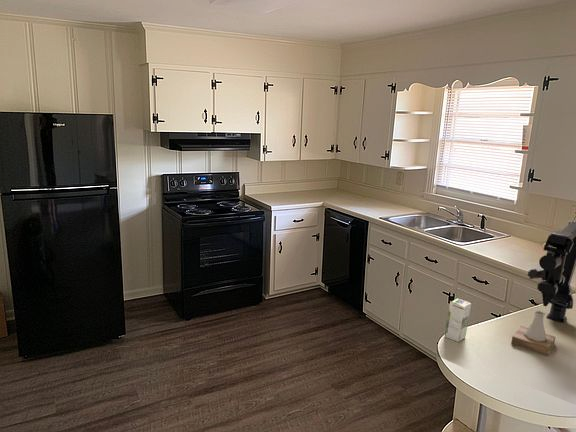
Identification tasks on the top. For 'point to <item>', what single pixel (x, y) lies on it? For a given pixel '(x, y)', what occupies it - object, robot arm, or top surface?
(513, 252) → the top surface
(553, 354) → the top surface
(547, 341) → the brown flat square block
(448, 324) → the syrup box
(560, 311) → the robot arm
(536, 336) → the flask
